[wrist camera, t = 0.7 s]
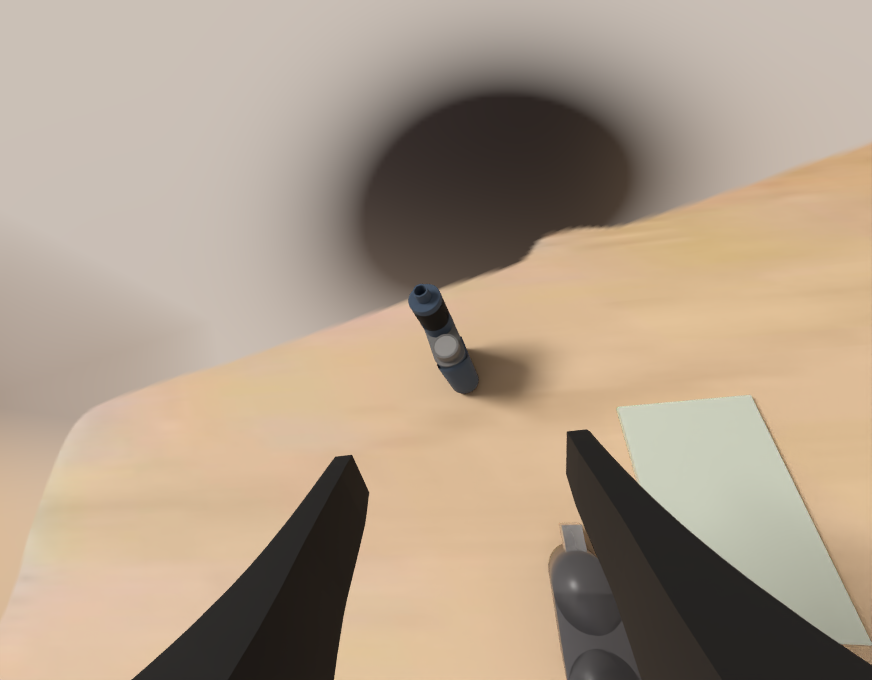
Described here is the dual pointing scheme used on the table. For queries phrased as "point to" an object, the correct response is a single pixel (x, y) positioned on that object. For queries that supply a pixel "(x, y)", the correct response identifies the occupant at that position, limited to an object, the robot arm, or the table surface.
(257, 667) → the robot arm
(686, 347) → the table surface
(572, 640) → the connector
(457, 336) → the vaping device
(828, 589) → the board
